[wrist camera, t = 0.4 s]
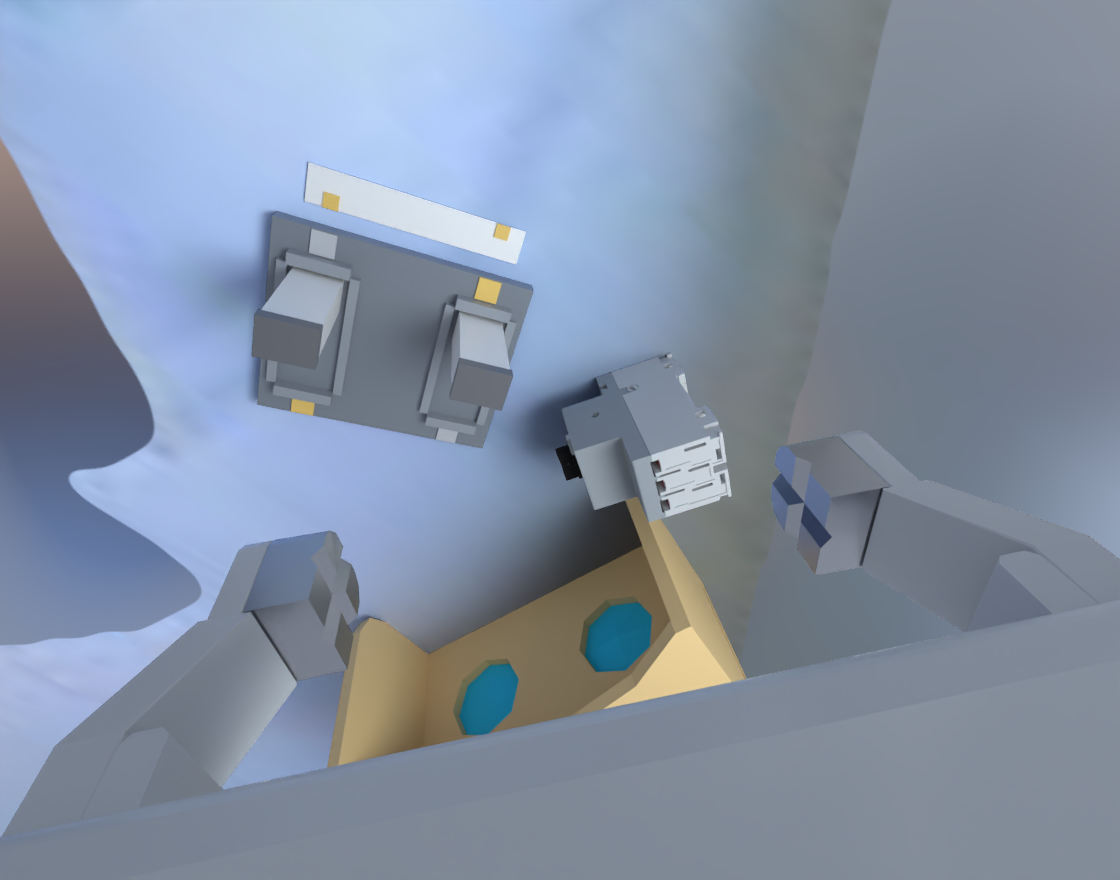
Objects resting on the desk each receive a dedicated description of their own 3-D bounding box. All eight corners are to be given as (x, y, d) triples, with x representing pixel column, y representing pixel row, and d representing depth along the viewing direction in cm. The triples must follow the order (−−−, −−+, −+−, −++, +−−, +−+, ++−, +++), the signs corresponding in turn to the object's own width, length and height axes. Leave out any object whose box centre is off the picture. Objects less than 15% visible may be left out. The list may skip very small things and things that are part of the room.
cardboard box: (470, 695, 89) (474, 881, 69) (355, 610, 74) (318, 814, 54) (702, 583, 82) (781, 753, 62) (625, 465, 67) (695, 638, 48)
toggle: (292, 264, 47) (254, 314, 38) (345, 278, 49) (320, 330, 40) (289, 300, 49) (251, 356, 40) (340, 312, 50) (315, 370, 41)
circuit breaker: (540, 395, 60) (562, 483, 48) (670, 352, 60) (725, 430, 47) (560, 449, 64) (584, 543, 52) (681, 409, 64) (734, 495, 52)
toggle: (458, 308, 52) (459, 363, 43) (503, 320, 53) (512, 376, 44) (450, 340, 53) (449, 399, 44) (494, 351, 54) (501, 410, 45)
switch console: (281, 153, 44) (272, 158, 42) (546, 238, 51) (551, 246, 49) (261, 396, 55) (253, 411, 53) (481, 440, 62) (482, 454, 60)
